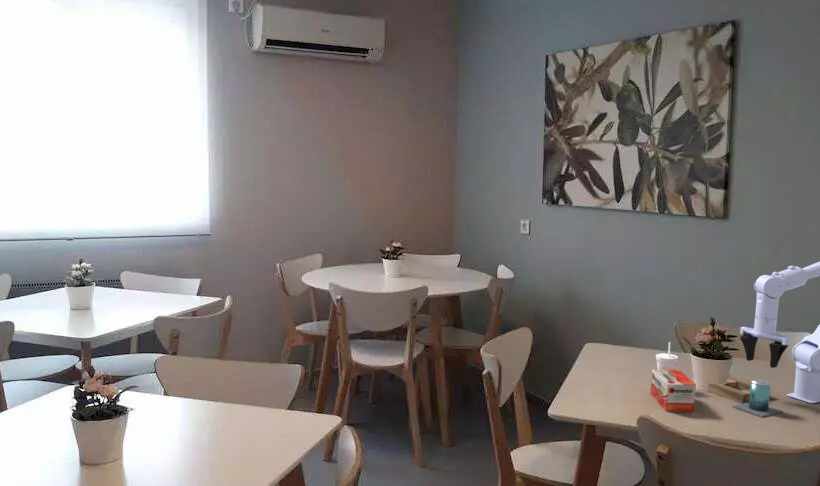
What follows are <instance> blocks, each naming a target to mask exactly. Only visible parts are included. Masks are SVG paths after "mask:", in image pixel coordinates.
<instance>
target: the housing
mask: <svg viewBox="0 0 820 486" xmlns="http://www.w3.org/2000/svg"><path fill="white" fill-rule="evenodd" d="M726 380H727V381H726V382H725V383H723V384H707V392H708V393H711V394H715V395H716V396H720V397H723V398H726V399H728V400H731V401H734V402H737V401H738V403H740V404H744V403H748V402H749V396H750V384H751V382H748V381H745V380H742V379H739V378H736V377H734V378H728V379H726Z"/></svg>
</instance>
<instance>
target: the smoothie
mask: <svg viewBox="0 0 820 486" xmlns="http://www.w3.org/2000/svg"><path fill="white" fill-rule="evenodd" d="M671 344H672V343H671V341H669V342H668V350H667V353H664V352H662V353H656V354H655V359H656V365H657V369H659V370H676V369H677V368H676V367H677V364H678V363H677V362H678V361H679V357H678V356H677V355H675V354H672V353H671Z"/></svg>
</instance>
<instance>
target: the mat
mask: <svg viewBox="0 0 820 486" xmlns="http://www.w3.org/2000/svg"><path fill="white" fill-rule="evenodd" d="M732 408H734V409H737V410H739V411H741V412H745V413H748V414H751V415H753V416H756V417H760V418H764V417H768V416H769V417H770V416H773V415H776V414H781V413H783V412H784V410H781V409H778V408H774V407H772V406H770V405H769V409H768V411H758V410H753V409H751V408H749V402H747V403H740V404H736V405H732Z"/></svg>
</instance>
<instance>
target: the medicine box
mask: <svg viewBox="0 0 820 486" xmlns="http://www.w3.org/2000/svg"><path fill="white" fill-rule="evenodd" d="M650 380H651V381H650V382H651V383H650V395H651V396H652V398H653V399H654V400H655V401H656V402H657V403H658V405H659V406H660V407H661V408H662V409H663V410H664V412H675V413H676V412H679V413H680V412H682V413H683V412H684V413H685V412H686V413H694V412H695V406H696V405H695V404H696V403H695V402H696V390H697V383H695V382H694V381H693V380H691V379H690V378H689V377H688V376H687V375H686V374H685V373H684V372H683V371H681V369H675V370H659V369H654V368H653V369H651V379H650Z"/></svg>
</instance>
